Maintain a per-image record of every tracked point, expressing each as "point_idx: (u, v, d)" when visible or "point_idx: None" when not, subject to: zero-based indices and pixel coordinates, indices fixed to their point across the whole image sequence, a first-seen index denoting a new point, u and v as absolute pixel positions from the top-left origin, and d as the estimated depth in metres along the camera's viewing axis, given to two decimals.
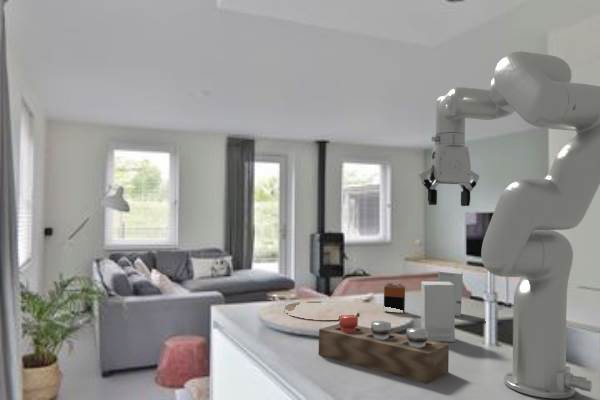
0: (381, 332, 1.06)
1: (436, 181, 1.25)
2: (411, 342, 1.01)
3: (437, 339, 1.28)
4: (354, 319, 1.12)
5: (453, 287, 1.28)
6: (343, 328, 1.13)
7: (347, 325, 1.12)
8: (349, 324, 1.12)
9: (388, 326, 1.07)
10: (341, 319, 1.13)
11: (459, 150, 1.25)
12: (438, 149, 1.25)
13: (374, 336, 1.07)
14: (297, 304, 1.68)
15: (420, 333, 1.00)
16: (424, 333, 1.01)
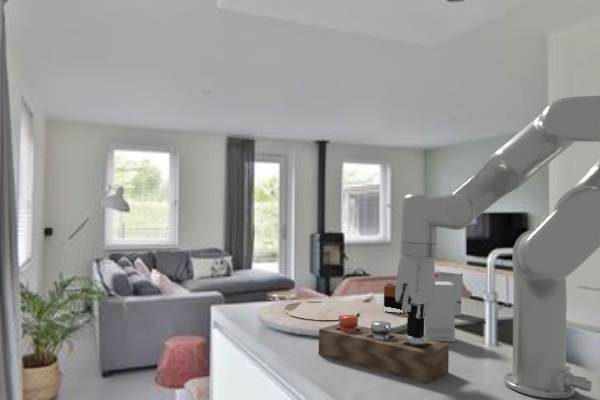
0: (381, 332, 1.06)
1: None
2: None
3: (437, 339, 1.28)
4: (354, 319, 1.12)
5: (453, 287, 1.28)
6: (343, 328, 1.13)
7: (347, 325, 1.12)
8: (349, 324, 1.12)
9: (388, 326, 1.07)
10: (341, 319, 1.13)
11: None
12: None
13: (374, 336, 1.07)
14: (297, 304, 1.68)
15: (420, 339, 1.00)
16: (424, 339, 1.01)
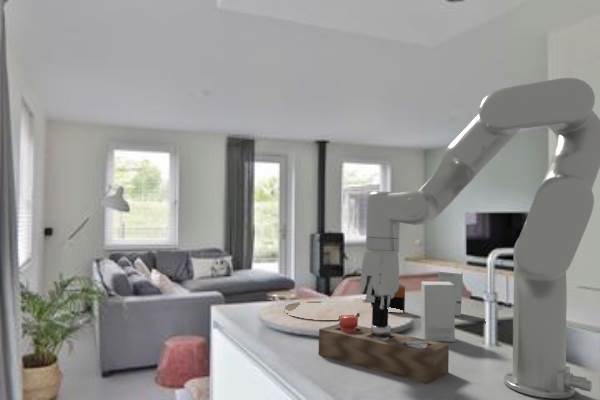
0: (381, 335, 1.06)
1: None
2: None
3: (437, 339, 1.28)
4: (354, 319, 1.12)
5: (453, 287, 1.28)
6: (343, 328, 1.13)
7: (347, 325, 1.12)
8: (349, 324, 1.12)
9: (388, 329, 1.07)
10: (341, 319, 1.13)
11: None
12: None
13: None
14: (297, 304, 1.68)
15: (420, 346, 1.00)
16: (424, 346, 1.01)
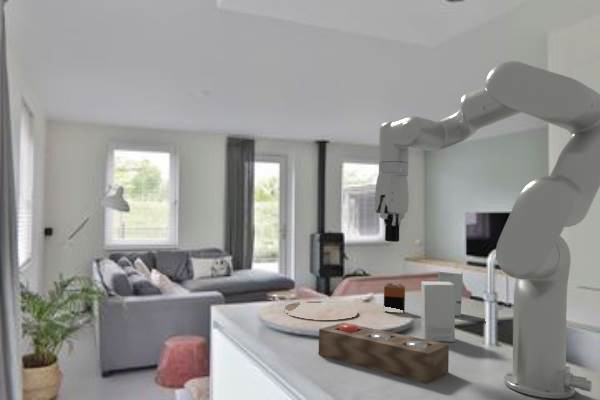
0: None
1: None
2: None
3: (437, 339, 1.28)
4: (354, 328, 1.12)
5: (453, 287, 1.28)
6: None
7: None
8: None
9: None
10: (341, 328, 1.13)
11: None
12: None
13: None
14: (297, 304, 1.68)
15: (420, 346, 1.00)
16: (424, 346, 1.01)
